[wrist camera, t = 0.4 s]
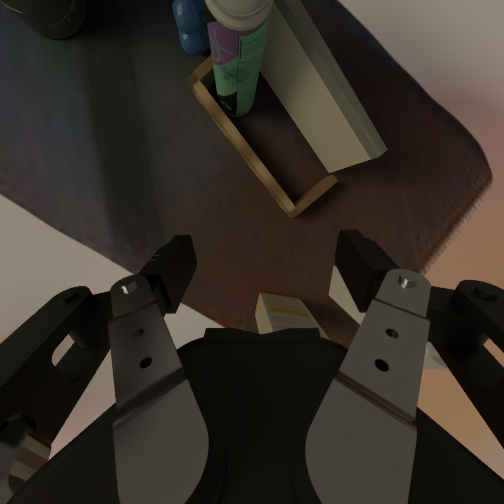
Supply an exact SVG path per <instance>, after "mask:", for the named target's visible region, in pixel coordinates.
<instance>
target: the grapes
mask: <svg viewBox="0 0 504 504" xmlns="http://www.w3.org/2000/svg"><path fill="white" fill-rule="evenodd" d="M172 8H173V13H174V18H175V21H176V24H177V26H178V28H179V30H178V32H179V37H180V42H181V45H182V47H183V50H184V51H185V52H186V53H187V54H188V55H194V54H196V53H197V54H202V53H203V52H205V51H206V50H207V49H208V48H209V47H210V40H209V33H208V26H207V19H206V12H205V5H204V0H175V1H174V2H173V4H172Z"/></svg>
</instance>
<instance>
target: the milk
mask: <svg viewBox="0 0 504 504" xmlns="http://www.w3.org/2000/svg"><path fill="white" fill-rule="evenodd" d="M329 296H330V297H331V298H332V299H333V300H334V301H335V302H336V303H338V304H339V305H340V306H341V307H342V308H343V309H344V310H345V311H346V312H347V313H348V314H349V315H350V316H351V317H352V318H353V319H355V320H356V321H357V322H358V323H359V324H360V325H361V323H362V321H363V319H364V316H365V314H366V313H359V311H358V309H357V307H356V305H355V303H354V301H353V299H352V297H351V295H350V293H349V291H348V289H347V287H346V285H345V283H344V281H343V279H342V277H341V275H340V273H339V271H338V269H337V267H336V266H334V268H333V273H332V279H331V284H330V290H329ZM423 369H449V368H448V367H447V366H446V364H445V363H444V361H443V360H442V358H441V357H440V355H439V354H438V352H437V351H436V350H435V348H434V347H433V345H432V344H431V342H428V341H427V345H426V351H425V357H424V364H423Z"/></svg>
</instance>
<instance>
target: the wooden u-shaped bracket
mask: <svg viewBox="0 0 504 504" xmlns="http://www.w3.org/2000/svg"><path fill="white" fill-rule="evenodd" d="M187 81H188V84H189V86H190V89H191V92H192V93H193V95H194V96H195V97H196V98H197V100H198V101H199V102H200V104H201V105H202V106H203V107H204V109H205V110H206V111H207V113H208V114H209V115H210V116H211V118H212V119H213V120H214V122H215V123H216V124H217V125H218V127H219V128H220V129H221V131H222V132H223V133H224V134H225V136H226V137H227V138H228V140H229V141H230V142H231V143H232V145H233V146H234V147H235V149H236V150H237V151H238V152H239V154H240V155H241V156H242V158H243V159H244V160H245V161H246V163H247V164H248V165H249V167H250V168H251V169H252V170H253V172H254V173H255V174H256V176H257V177H258V178H259V179H260V181H261V182H262V183H263V185H264V186H265V187H266V188H267V190H268V191H269V192H270V194H271V195H272V196H273V197H274V199H275V200H276V201H277V203H278V204H279V205H280V206H281V208H282V209H283V210H284V212H285V213H286V214H287V215H288V217H292V218H295V217H296V216H297V215H298V214H299V213H301V212H302V211H303V210H304V209H305V208H307V207H308V206H309V205H310V204H311V203H313V202H314V201H315V200H316V199H317V198H318V197H320V196H321V195H322V194H323V193H324V192H326V191H327V190H328V189H329V188H330V187H332V186H333V185H334V184H335V183H336V182H338V181H337V179H336V178H335V176H334V175H332V176H328V177H325V178H323V179H322V180H321V181H320V182H318V183H317V184H316V185H315V186H314V187H312V188H311V189H310V190H309V191H308V192H307V193H305V194H304V195H303V196H302V197H301V198H300V199H298V200H297V201H296V202H295V203H294V204H293V203H292V202H291V200H290V199H289V198H288V196H287V195H286V194H285V192H284V191H283V190H282V188H281V187H280V186H279V184H278V183H277V182H276V180H275V179H274V178H273V177H272V175H271V174H270V173H269V171H268V170H267V169H266V167H265V166H264V165H263V163H262V162H261V161H260V159H259V158H258V157H257V155H256V154H255V153H254V151H253V150H252V149H251V147H250V146H249V145H248V144H247V142H246V141H245V140H244V138H243V137H242V136H241V134H240V133H239V132H238V130H237V129H236V128H235V126H234V125H233V124H232V122H231V121H230V120H229V118H228V117H227V116H226V115H225V113H224V112H223V111H222V109H221V108H220V107H219V105H218V104H217V103H216V101H215V100H214V99H213V97H212V96H211V95H210V93H209V92H208V91H207V90H208V89H209V88H210V87H211V86H212V85H213V84H214V83H215V82H216V81H215V74H214V67H213V61H212V54H211V55H210V56H209V57H208V58H207V59H206V60H205V61H204V62H203V63H202V64H201V65H200V66H199V67H198V68H197V69H196V70H195V71H194V72H193V73H191V74H190V75H189V76H188V77H187Z"/></svg>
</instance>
